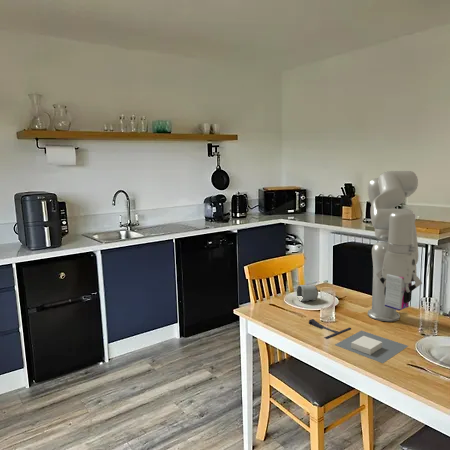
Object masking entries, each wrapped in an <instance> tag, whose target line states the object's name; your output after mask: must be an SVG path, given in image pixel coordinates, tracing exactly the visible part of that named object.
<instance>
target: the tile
mask: <svg viewBox="0 0 450 450" xmlns="http://www.w3.org/2000/svg"><path fill="white" fill-rule="evenodd" d="M351 348H353V349H355V350H358V351H361V352H363V353H366V354H369V355H371V354H372V353H374V352H376V351H377V350H379V349H380V348H382V342H381V341H378V340H375V339H372V338H369V337H366V336H362V337H360V338H359V339H357V340H355V341H353V342H351Z"/></svg>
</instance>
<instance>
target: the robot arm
mask: <svg viewBox="0 0 450 450" xmlns="http://www.w3.org/2000/svg"><path fill="white" fill-rule="evenodd" d="M418 181H419V179H418V176H417V174H416V173H415V172H414V171H412V170H388V171H387V170H386V171H384V172H383V173H381V174H380V175H379V177H376V178H372V179H371V180H369V182H368V183H367V195H368V199H369V204H370V205H371V206H370V220H371V221H370V222H371V224H372V227H373V228H374V235H375V238H376V239H377V240H379V241H380V242H376V243H375V244H373V245H372V248H371V258H372V259H371V260H372V266H373V267H372V295H371V309H368V311H367V316H369V318H371V319H374V320H376V321H380V322H395V321H399V320H400V318H401V315H400V314H399V312H397V310H395V309H392V308H389V307H386V306H385V295H386V280H387V274H389V275H393V276H397V277H402V278H403V280H404V283H405V285H404V286H405V289H406V291H405V292H404V303H408V302H409V303H410V301H412V293H413V292H412V291H414V290H415V289H417V288H418V287H419V286H421V285H422V284H423V281H422V280H421V279H420V278H419V276H418V275H417V264H418V262H419V245H418V236H417V235H418V234H417V232H418V231H417V226H416V215H415V213H414V212H413V210H411V209H410V208H409V209H408V208H395V207H398V206H400V205H401V204H403V202H404V201H405V198H409V197H411V195H413V194H414V193H416V191H417V189H418V186H419V182H418ZM412 282H413V283H414V284H413V283H412Z"/></svg>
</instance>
